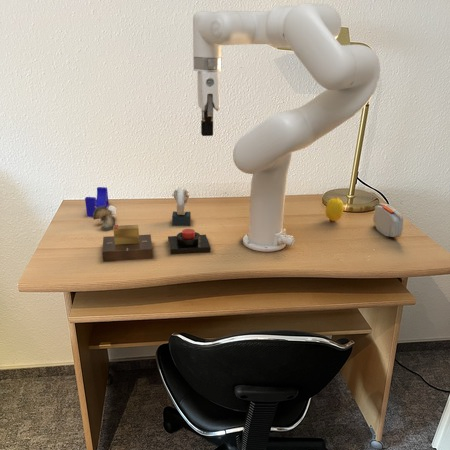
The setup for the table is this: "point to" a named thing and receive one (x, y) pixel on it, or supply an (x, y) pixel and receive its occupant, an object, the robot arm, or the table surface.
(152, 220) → the table surface
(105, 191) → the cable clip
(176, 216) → the watch
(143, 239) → the panel
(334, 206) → the lemon
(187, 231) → the button
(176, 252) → the button block
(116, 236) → the tan bar
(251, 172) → the robot arm
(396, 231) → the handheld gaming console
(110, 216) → the eagle figurine
